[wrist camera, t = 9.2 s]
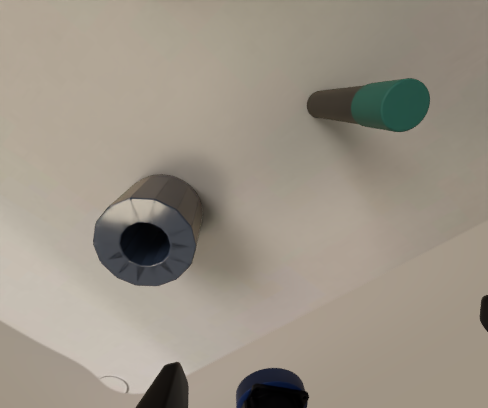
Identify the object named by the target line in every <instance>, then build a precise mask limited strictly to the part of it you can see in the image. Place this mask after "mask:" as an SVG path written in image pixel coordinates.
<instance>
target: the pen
mask: <svg viewBox="0 0 488 408" xmlns="http://www.w3.org/2000/svg"><path fill="white" fill-rule="evenodd" d="M429 104H430V96H429V92H428V89H427V88H426V86H425V85H424V84H423V83H422V82H420V81H419V80H416V79H412V78H408V79H400V80H393V81H385V82H378V83H371V84H367V85H364V86H356V87H348V88H340V89H332V90H324V91H317V92H315V93H313V94H312V95H311V96H310V97H309V99H308V102H307V109H308V112H309V113H310V114H311V115H312V116H314V117H317V118H324V119H330V120H336V121H342V122H348V123H354V124H360V125H362V126H365V127H371V128H377V129H383V130H388V131H394V132H404V131H408V130H410V129H412V128H414V127H415V126H417V125H418V124H419V123H420V122H421V121H422V120H423V118H424V117H425V115H426V114H427V111H428V108H429Z"/></svg>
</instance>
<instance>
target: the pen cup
mask: <svg viewBox="0 0 488 408" xmlns="http://www.w3.org/2000/svg"><path fill="white" fill-rule="evenodd" d="M202 217H203V214H202V205H201V201H200V199H199V197H198V195H197V193H196V192H195V190H194V189H193V188H192V187H191V186H190V185H189V184H187V183H186V182H185V181H183V180H181V179H179V178H177V177H174V176H170V175H163V174H159V175H151V176H148V177H146V178H143V179H141V180H140V181H138V182H136V183H135V184H134V185H132V186H131V187H130V188H129V189H128V190H127V191H126V192H125V193H123V194H122V195H121V196H120V197H119V198H118V199H117V200H116V201H114V202H113V203H112V204H111V205H110V206H109V207H108V208H107V209H106V210H105V211H104V213H103V214H102V215H101V216H100V218H99V219H98V220H97V221H96V224H95V231H94V238H93V242H94V243H93V245H94V247H95V250H96V252H97V255H98V257H99V260H100V262H101V263H102V264H103V265H104V266H105V267H106V268H107V269H108V270H109V271H110V272H111V273H112V274H113V275H114V276H116V277H117V278H119V279H121V280H124V281H126V282H129V283H131V284H134V285H137V286H160V285H162V284H165V283H168V282H170V281H173V280H176V279H177V278H179V277H180V276H181V275H182V274H183V273H184V272H185V270H186V269H187V268H188V267H189V266H190V265H191V264H192V261H193V257H194V254H195V250H196V246H197V241H198V236H199V232H200V227H201V222H202Z"/></svg>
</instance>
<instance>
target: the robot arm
mask: <svg viewBox="0 0 488 408" xmlns="http://www.w3.org/2000/svg"><path fill="white" fill-rule="evenodd" d="M480 321H481V323H482V325H483V326H484V328H485V329H486V330H487V332H488V295H486V296H484V297H483V298H482V300H481V309H480ZM308 399H309V395H308V392H306V391H302V390H296V389H289V388H283V387H277V386H271V385H265V384H259V383H256V384H254V385H253V386H252V388H251V390H250V393H249V395H248V397H247V399H246V400H245V401H244V403H243V405H242V407H241V408H304V406H305V405H306V403H307V401H308ZM136 408H188V382H187V379H186V376H185V374H184V371H183V369H182V366H181V364H180V363H179V362H175V363H170V364H167V365H165V366H164V367H163V368H162V370H161V371H160V373H159V374H158V376H157V377H156V379H155V380H154V382H153V383H152V385H151V386H150V387H149V389H148V390H147V392H146V393H145V395H144V396H143V398H142V399H141V401H140V402H139V403H138V405H137V406H136Z"/></svg>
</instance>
